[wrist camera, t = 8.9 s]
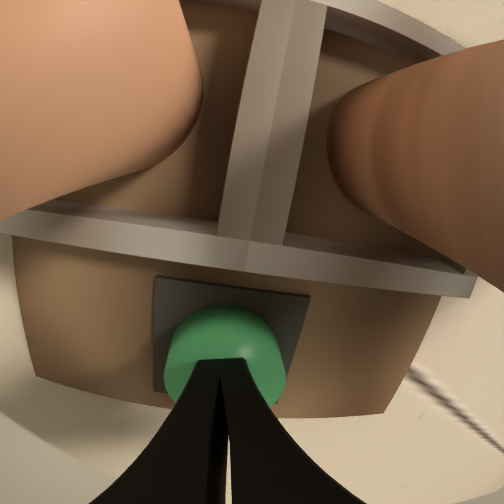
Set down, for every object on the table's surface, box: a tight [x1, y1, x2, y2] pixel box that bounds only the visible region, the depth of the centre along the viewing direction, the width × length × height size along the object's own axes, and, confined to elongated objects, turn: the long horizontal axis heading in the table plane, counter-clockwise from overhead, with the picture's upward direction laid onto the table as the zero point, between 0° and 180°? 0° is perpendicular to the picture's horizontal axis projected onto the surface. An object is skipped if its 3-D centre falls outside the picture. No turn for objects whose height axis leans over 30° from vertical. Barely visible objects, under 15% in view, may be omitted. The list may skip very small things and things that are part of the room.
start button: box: [164, 306, 286, 407], centre depth 9 cm, size 4×4×2 cm
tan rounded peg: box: [0, 0, 204, 220], centre depth 5 cm, size 4×4×6 cm
